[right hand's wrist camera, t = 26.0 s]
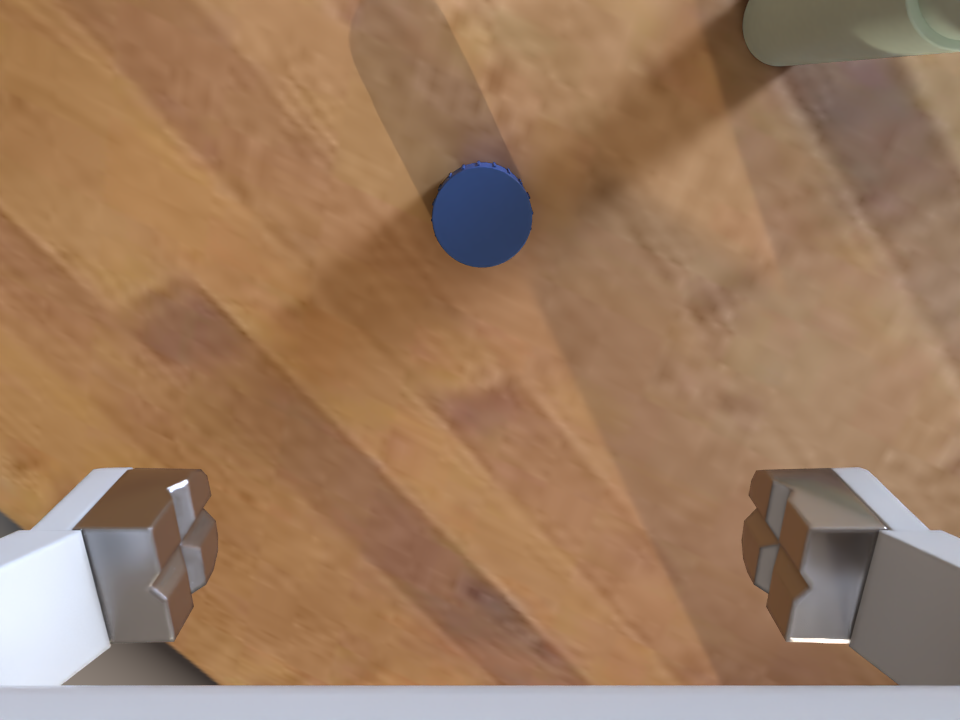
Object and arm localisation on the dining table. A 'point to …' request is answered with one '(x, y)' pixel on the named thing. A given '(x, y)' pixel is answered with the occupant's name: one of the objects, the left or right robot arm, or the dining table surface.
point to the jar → (849, 29)
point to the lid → (482, 215)
